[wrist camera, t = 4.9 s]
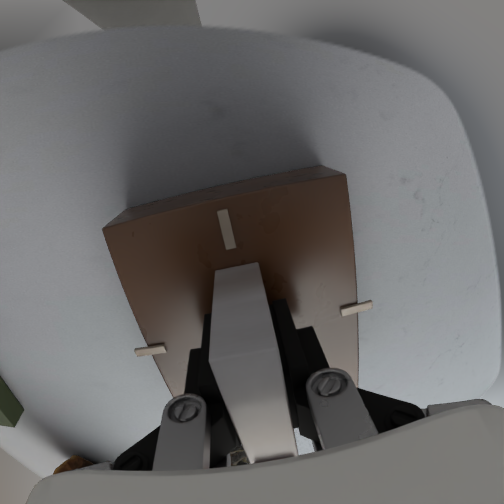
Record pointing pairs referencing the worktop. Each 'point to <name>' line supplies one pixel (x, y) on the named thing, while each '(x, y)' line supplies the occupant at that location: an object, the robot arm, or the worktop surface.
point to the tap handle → (250, 365)
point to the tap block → (241, 261)
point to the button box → (8, 407)
